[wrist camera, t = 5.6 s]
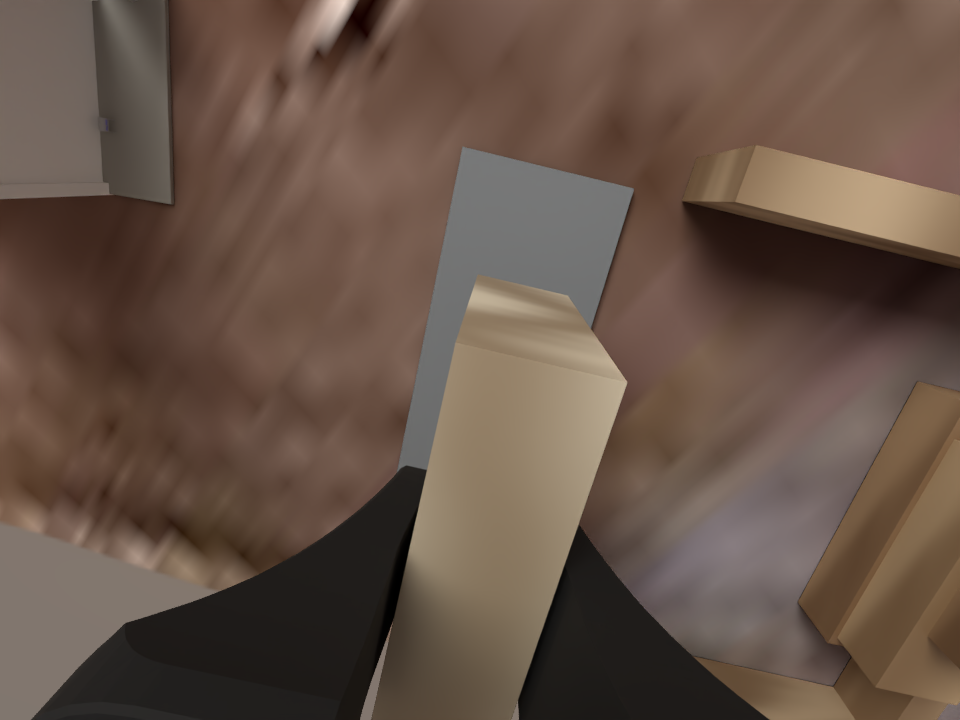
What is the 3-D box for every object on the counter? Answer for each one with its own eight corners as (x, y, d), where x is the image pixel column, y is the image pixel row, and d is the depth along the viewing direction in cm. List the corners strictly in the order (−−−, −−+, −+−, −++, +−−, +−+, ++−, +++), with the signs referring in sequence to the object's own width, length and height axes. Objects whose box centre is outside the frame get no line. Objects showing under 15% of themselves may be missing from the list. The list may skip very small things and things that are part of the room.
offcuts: (1007, 402, 16) (1210, 485, 11) (874, 619, 19) (994, 755, 14) (917, 381, 16) (1085, 455, 11) (798, 601, 19) (893, 733, 14)
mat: (631, 189, 14) (634, 188, 14) (500, 614, 19) (500, 619, 19) (463, 147, 14) (462, 146, 14) (374, 586, 19) (373, 591, 19)
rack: (1136, 266, 14) (1325, 286, 11) (848, 715, 20) (916, 816, 17) (696, 157, 14) (756, 144, 11) (530, 645, 20) (535, 735, 16)
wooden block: (567, 295, 13) (627, 382, 7) (481, 596, 16) (468, 843, 10) (478, 274, 13) (455, 342, 7) (408, 579, 16) (348, 820, 10)
